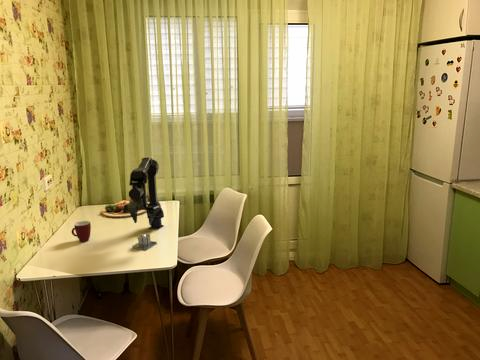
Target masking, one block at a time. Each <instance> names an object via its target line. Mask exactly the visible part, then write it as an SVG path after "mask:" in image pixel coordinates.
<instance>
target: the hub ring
mask: <svg viewBox="0 0 480 360" xmlns="http://www.w3.org/2000/svg"><path fill="white" fill-rule="evenodd" d="M143 234H144V233H141V234H139V235H137V241H138V242H137V243H138V244H139V246H147V245H150V244H151V241H152V240H151V235H150V234H149V233H145V234H146V237H142V235H143Z"/></svg>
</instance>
